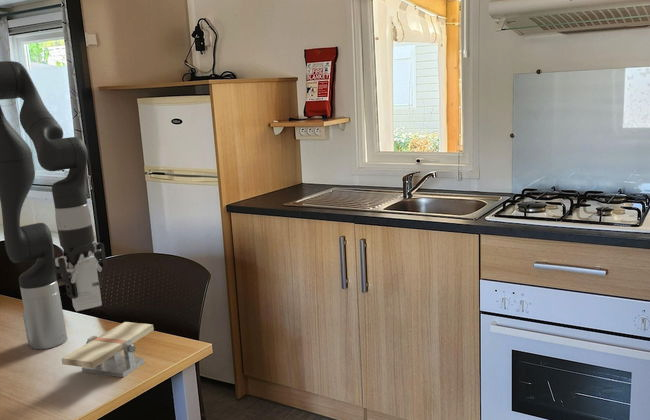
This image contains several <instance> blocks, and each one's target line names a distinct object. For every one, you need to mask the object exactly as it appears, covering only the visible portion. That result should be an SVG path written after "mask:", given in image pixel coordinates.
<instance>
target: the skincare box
mask: <svg viewBox="0 0 650 420" xmlns="http://www.w3.org/2000/svg"><path fill="white" fill-rule="evenodd" d="M68 265H69V269H74V268H75V267H74V266H73V265H72V264H71V263H70V262H69V264H68ZM70 277H71V273H70ZM75 283H76V287H77V292H78V297H77V298H75V299H73V298H71V301H72V307H73V308H74V310H75V311H76V312H79V311H84V310H88V309H93V308H97V307H101V306H102V305H103V302H102V297H101V290H100V288H101V287H99V281H98V274H97V267H96V260H95V257H94V256H90V257H84V259H83V261H82V263H81V267H80V271H79V273H78V274H77V276H76V279H75Z"/></svg>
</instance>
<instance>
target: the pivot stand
mask: <svg viewBox="0 0 650 420" xmlns="http://www.w3.org/2000/svg"><path fill="white" fill-rule="evenodd" d="M97 337H98V336H97V335H92V336H90V337H89V338H87V341H86V344H87V343H89V342H91V341H92V340H93V339H95V338H97ZM123 348H124V349H123V353H124V354H123V355H122V350H121V351H120V352H118V353H117V354H115V355H114V356H112V357H110V358H109V359H107V360H106V361H104V362H103V363H101V364H99V365H98V366H96V367H95V368H86V367H81V370H82V372H83V373H91V374H95V375H96V374H97V375H104V376H111V377H118V378H125V377H126V376H127V375H129V374H130V373H132V372H133V371H135V370H136V369H137V368H139V367H140V366H142V365H144V363H145V362H146V360H145V358H143V357H136V356H135V352H136V348H137V346H136V345H135V344H134V343H133V342H132V340H127V341H125V342H124V343H123Z"/></svg>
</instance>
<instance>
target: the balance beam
mask: <svg viewBox="0 0 650 420" xmlns="http://www.w3.org/2000/svg"><path fill="white" fill-rule="evenodd" d="M154 329H155V328H154V324H150V323H138V322H130V321H123V322H122V323H121V324H118V325H117V326H115V327H113V328H112V329H109V330H108V331H106V332H105V333H103V334H101V335H100V336H97V338H95V339H93V340H92V341H91V342H89V343H87V344H83V345H82V346H80V347H79V348H76V349H75V350H73V351H71V352H70V353H68V354H66V355H64V356H63V357H61V364H62V365H65V366H74V367H80V368H83V367H86V368H95V367H96V366H98V365H99V364H101V363H103V362H104V361H106V360H107V359H109V358H110V357H112V356H114V355H115V354H117V353H118V352H120V351H121V352H122V351H124V348H123V343H124V342H125V341H127V340H132V342H133V344H134V343H136V342H138V341H139V340H140V339H142V338H143V337H146V335H149V334H150V333H151V332H153V331H154Z"/></svg>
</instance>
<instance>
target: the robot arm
mask: <svg viewBox="0 0 650 420" xmlns="http://www.w3.org/2000/svg"><path fill="white" fill-rule="evenodd" d="M12 99H14V100H15V99H21V100H22V104H21V105H22V106H21V108H20V110H19V122H20V126H21V127H22V129H23V131H24V132H25V133H26V135H27V136H28V137H29V139H30V140H31V141H32V144H33V147H34V148H35V153H36V158H37V161H38V164H39V166H40V167H41V168H42V169H44V170H45V171H46V172H47V171H48V172H57V171H58V172H59V171H65V170H69V171H68V174H67V176H65V177H64V178H62V179H60V180H58V181H55V182H54V183H52V186H51V194H52V199H53V204H54V212H55V213H54V214H55V223H56V229H57V235H58V240H59V245H60V247H61V248H62V249H63V253H62V256H58V257H55V249H54V242H53V241H54V240H53V236H52V232H51V230H50V228H49V226H48V225H47V224H46V223H44V222H36V223H32V224H31V223H30V224H27V225H22V226H21V222H20V221H21V213H22V210H23V206H24V203H25V200H26V198H27V196H28V195H29V192H30V190H31V188H32V186H33V184H34V181H35V179H36V178H35V177H36V172H35V171H36V170H35V164H34V158H33V152H32V149H31V147H30V146H29V144H28V143H27V141H26V140H25V139H24V138H23V137H22V136H21V135H20V134H19V133H18V132H17V131H16V129H14V128H13V126H12V125H11V124H10V122H9V121H8V120H7V118H6V116H5V114H4V112H3V109H2V107H1V105H0V205H1V206H0V207H1V216H2V217H1V218H2V228H3V238H4V247H5V250H6V253H7V257H8V258H9V260H10V261H11V262H12V263H14V264H20V263H24V262H28V261H33V260H36V261H35V263H34V264H33V265H32V266H30V268H28V269H27V270H25V271H24V272H22V273H21V274H20V275H19V277H18V283H19V289H20V295H21V300H22V304H23V310H24V311H23V312H22V319H23V323H24V329H25V333H26V334H25V335H26V339H27V345H28V346H30V347H31V348H32V349H35V350H45V349H46V350H47V349H51V348H54V347H57V346H60V345H62V344H64V343H65V342H66V341H67V340H68V334H67V333H68V332H67V329H66V324H65V323H66V322H65V316H64V310H63V306H62V300H61V296H60V295H61V293H60V289H59V284H64V285H65V290H66V296H67V297H69V299H72V298H73V299H75V298H77V297H78V292H77V287H76V283H75V279H76V276H77V274H78V273H79V271H80V267H81V263H82V261H83V259H84V257H90V256H94V257H95V260H96V267H97V274H98V281H99V288H101V287H102V285H103V278H102V270H103V268H106V267H107V264H108V263H107V257H106V249H105V244H104V243H103V242H95V234H94V228H93V223H92V216H91V211H90V209H89V208H90V207H89V205H88V199H87V193H86V177H87V176H86V173H87V165H88V156H89V155H88V148H87V145H86V144H85V142H84V141H83V140H82V139H81V138H80V137H76V136H72V137H71V136H70V137H64V130H63V128H62V127H61V125H60V124H59V123H58V121H57V120H56V118H55V117H54V116H53V115H52V113H50V111H49V110H48V108H47V107H46V105H45V104H44V102H43V100H42V98H41V96H40V94H39V91H38V89H37V87H36V86H35V84H34V81H33V80H32V78H31V75H30V74H29V72H28V71H27V69H26V68H25V67H24V65H23V64H22V63H21V62H19V61H13V60H12V61H11V60H10V61H9V60H8V61H6V60H5V61H3V60H2V61H1V60H0V100H2V101H3V100H12ZM69 262H70V263H71V264H72V265H73V266H74V267H75V268H74V269H69V265H68V264H69ZM70 273H71V277H70Z"/></svg>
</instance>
